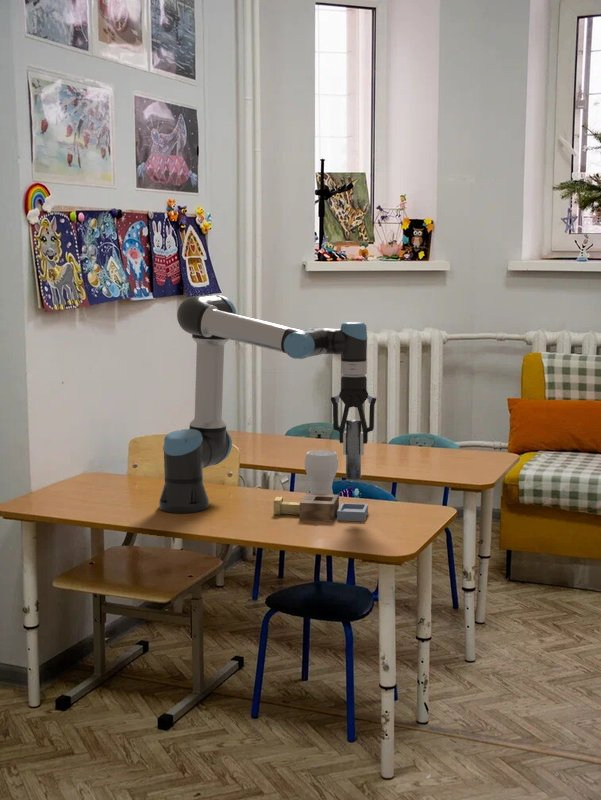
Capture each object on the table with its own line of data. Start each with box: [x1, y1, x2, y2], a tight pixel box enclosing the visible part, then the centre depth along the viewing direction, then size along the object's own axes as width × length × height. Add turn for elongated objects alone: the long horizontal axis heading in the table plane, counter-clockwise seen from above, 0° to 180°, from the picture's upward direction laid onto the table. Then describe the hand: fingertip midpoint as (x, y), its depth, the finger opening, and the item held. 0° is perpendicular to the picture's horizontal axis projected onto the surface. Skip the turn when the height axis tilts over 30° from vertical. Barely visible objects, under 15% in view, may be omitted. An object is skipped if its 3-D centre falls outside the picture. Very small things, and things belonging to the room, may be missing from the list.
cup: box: [304, 449, 339, 494], centre depth 318 cm, size 11×11×15 cm
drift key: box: [273, 496, 300, 516], centre depth 300 cm, size 12×5×4 cm, turn 80°
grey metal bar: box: [345, 419, 362, 480], centre depth 295 cm, size 4×4×17 cm
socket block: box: [299, 492, 340, 522], centre depth 299 cm, size 10×12×5 cm
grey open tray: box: [336, 502, 369, 522], centre depth 297 cm, size 8×10×3 cm
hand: (353, 454), depth 295 cm, fingers closed on grey metal bar, 4 cm apart
